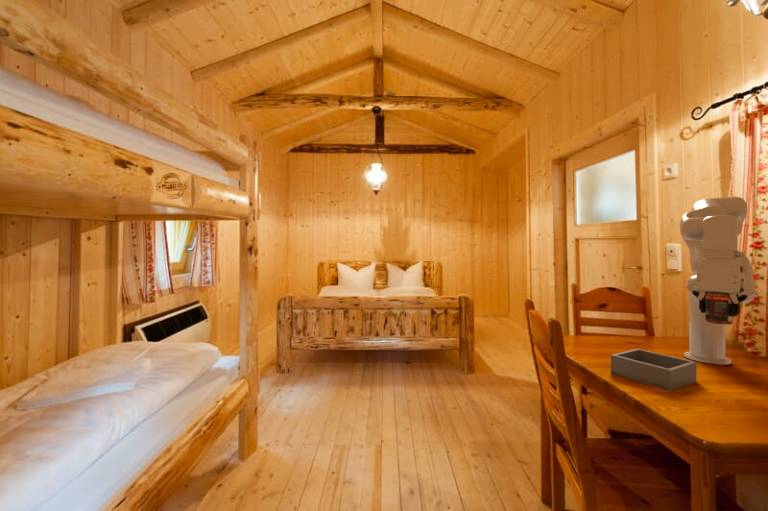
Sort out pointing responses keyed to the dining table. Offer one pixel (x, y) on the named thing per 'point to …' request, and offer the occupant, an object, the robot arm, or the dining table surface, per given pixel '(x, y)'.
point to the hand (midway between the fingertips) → (718, 313)
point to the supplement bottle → (718, 308)
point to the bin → (654, 369)
